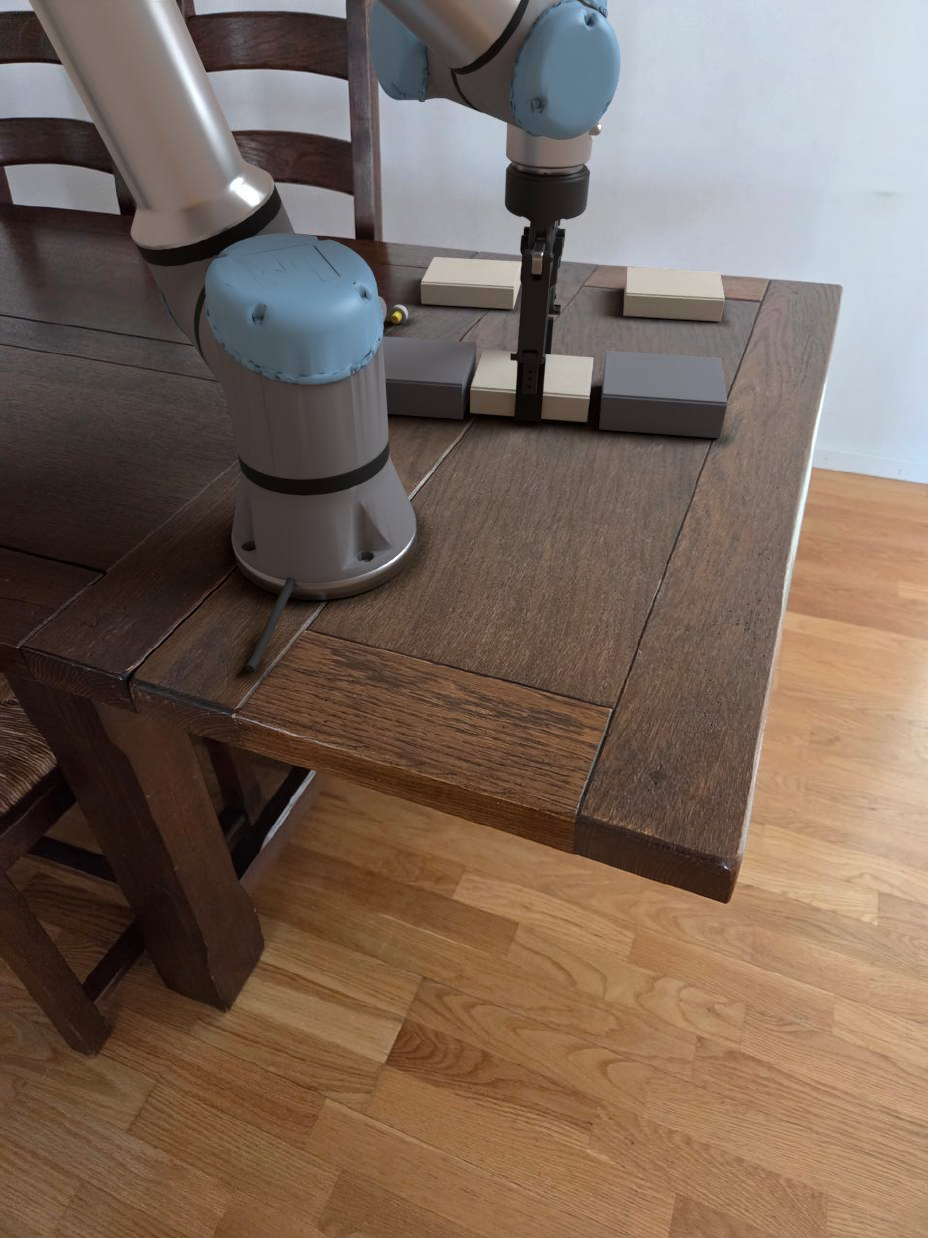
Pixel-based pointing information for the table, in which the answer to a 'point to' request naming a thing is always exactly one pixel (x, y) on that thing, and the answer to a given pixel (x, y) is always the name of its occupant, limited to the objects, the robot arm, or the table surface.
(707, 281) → the cream lidded box
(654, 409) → the dark grey box
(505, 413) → the beige flat box
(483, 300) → the cream flat block
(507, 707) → the table surface
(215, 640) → the table surface
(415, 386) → the grey lidded box
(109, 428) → the table surface
